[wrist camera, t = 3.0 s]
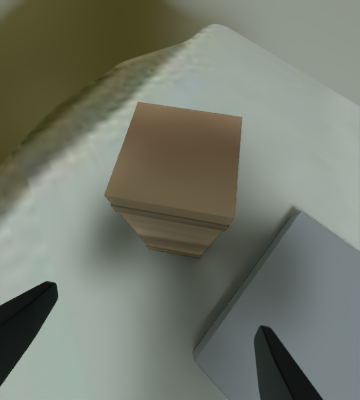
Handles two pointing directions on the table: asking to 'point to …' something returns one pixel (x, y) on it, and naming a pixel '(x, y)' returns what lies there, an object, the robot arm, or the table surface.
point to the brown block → (177, 177)
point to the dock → (292, 315)
